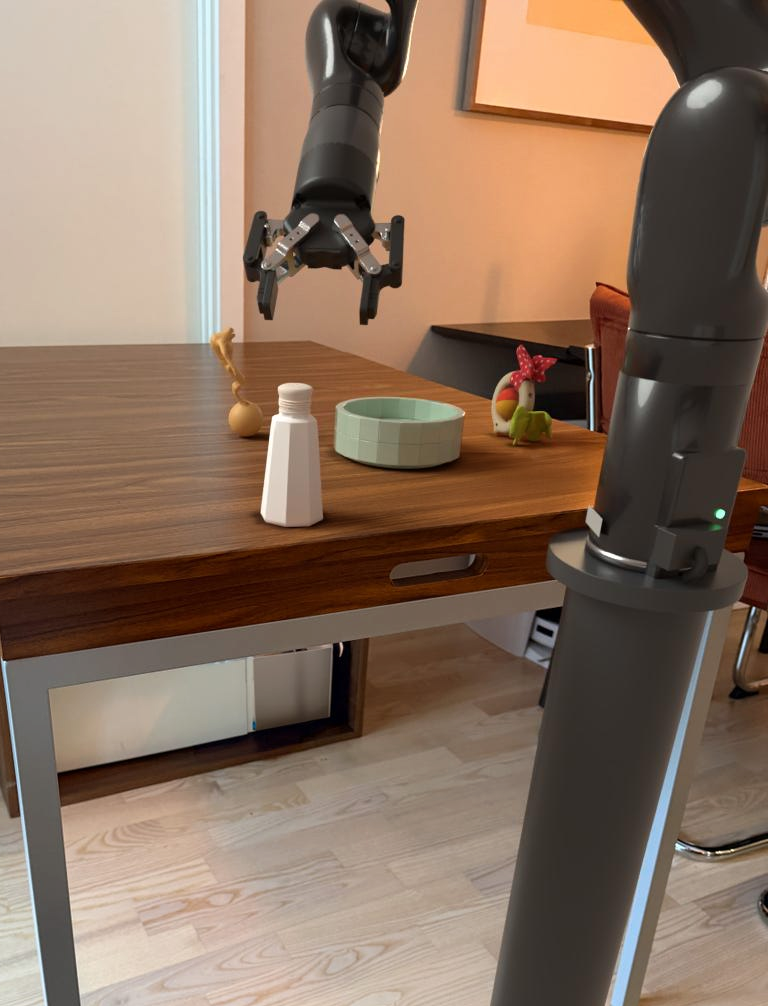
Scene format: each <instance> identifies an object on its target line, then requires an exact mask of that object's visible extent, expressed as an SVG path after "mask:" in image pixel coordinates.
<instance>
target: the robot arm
mask: <svg viewBox="0 0 768 1006" xmlns="http://www.w3.org/2000/svg"><path fill="white" fill-rule="evenodd" d="M384 1H385V2H386V4H387V5H388V7H389V12H384V11H383V10H380V9H378V8H375V7H373V6H370V5H369V4H366V3H364V2H361V1H359V0H320V1H319V2H318V4H316V6H315V8H314V9H313V11H312V12H311V14H310V16H309V19H308V22H307V25H306V30H305V38H304V61H305V68H306V74H307V79H308V83H309V89H310V96H311V107H310V108H311V109H310V113H309V119H308V125H307V130H306V133H305V136H304V139H303V141H302V144H301V149H300V156H299V161H298V166H297V172H296V176H295V177H296V178H295V183H294V189H293V194H292V199H291V205H290V209H289V213H288V214H286V216H285V217H284V219H272V218H268V214H267V212H266V211H264V210H258V211H256V212H255V213H254V215H253V218H252V222H251V224H250V225H251V226H250V230H249V233H248V236H247V240H246V244H245V248H244V252H243V255H242V263H243V267H244V271H245V272H244V273H245V278H246V280H247V282H249V283H255V282H258V288H257V294H256V302H257V308H258V312H259V314H261V315H263V320H264V321H273V320H274V316H275V311H276V304H277V299H278V294H279V285H280V284H281V283H282V282H284V280H286V279H287V278H288V277H290V278H292V277H294V276H295V275H296V274H298V273H299V272H300V271H301V270H302V269H303V268H304V267H306V266H307V269H310V270H311V269H315V270H317V269H322V268H327V269H330V270H338V271H339V270H340V271H341V270H343V268H344V267H347V269H348V270H349V271H350V272H351V273H352V275H353V276H354V278H355V279H356V280H358V281H359V280H360V281H361V283H362V286H361V287H362V288H361V294H360V302H359V311H358V313H359V314H358V315H359V316H358V317H359V319H358V320H359V325H360V326H368V325H369V320H375V318H376V317H377V316H378V308H379V302H380V301H379V300H380V293H381V292H382V290H383V289H384V288H387V287H389V288H391V289H399V288H400V287H401V286H402V285H403V271H404V270H403V269H404V252H405V251H404V248H405V247H404V246H405V223H406V222H405V217H404V216H403V215H400V214H396V215H394V216H392V217H391V219H390V222H375V220H374V219H373V216H374V215H373V214H374V207H375V199H376V192H377V186H378V183H379V182H378V181H379V179H380V163H381V137H382V130H383V122H384V115H385V98H387V97H389V96H390V95H392V94H393V93H394V92H395V91H396V90H397V89H398V88H399V87H400V86H401V84H402V81H403V80H404V78H405V76H406V74H407V70H408V67H409V66H408V65H409V61H410V55H411V49H412V42H413V34H414V27H415V22H416V16H417V11H418V7H419V2H420V0H384ZM621 2H622V3H623V5H625V7H626V8H627V9H628V10H629V12H630V13H631V15H633V17H634V18H635V20H636V21H637V22H638V23H639V24H640V25H641V27H642V28H643V29H644V31H646V33H647V34H648V36H649V37H650V38H651V39H652V40H653V42H654V43H655V45H656V46H657V47H658V49H659V50H660V52H661V53H662V55H663V56H664V58H665V59H666V61H667V64H668V65H669V66H670V69H671V71H672V73H673V76H674V77H675V80H676V83H677V85H678V87H679V88H678V89H676V91H674V92H673V94H672V95H671V97H669V99H668V100H667V101H666V103H665V104H664V106H663V107H662V109H661V110H660V112H659V114H658V116H657V118H656V119H655V122H654V124H653V126H652V129H651V132H650V134H649V137H648V139H647V142H646V146H645V149H644V153H643V157H642V160H641V161H642V162H641V166H640V172H639V176H638V183H637V190H636V196H635V202H634V209H633V216H632V226H631V233H630V240H629V248H628V255H627V263H626V273H625V274H626V275H625V281H626V290H627V294H628V299H629V305H630V307H629V308H630V309H629V318H628V324H627V329H626V335H625V340H624V341H625V342H624V346H623V351H622V356H621V361H620V367H619V371H618V376H617V382H616V386H615V387H616V388H615V393H614V398H613V404H612V409H611V413H610V419H609V423H608V425H609V426H608V429H607V435H606V439H605V445H604V449H603V450H604V451H603V456H602V460H601V466H600V471H599V477H598V481H597V485H596V486H597V487H596V492H595V496H594V503H593V507H592V506H591V505H590V504H588V507H587V512H586V517H585V524H587V526H590V529H589V533H588V534H587V539H586V544H585V549H586V551H587V552H588V553H589V554H590V555H591V556H592V557H594V558H595V559H597V560H599V561H601V562H603V563H606V564H608V565H611V566H614V567H617V568H620V569H624V570H628V571H633V572H637V573H642V574H645V575H648V576H650V577H652V578H654V579H662V578H669V577H676V576H682V578H683V580H684V581H685V582H688V583H690V582H692V581H694V580H696V579H698V578H700V577H701V576H703V575H704V574H705V572H711V571H716V570H717V567H718V564H719V563H720V559H721V555H722V552H723V549H725V543H726V540H727V536H728V534H729V533H728V532H729V525H730V521H731V517H732V513H733V509H734V506H735V503H736V498H737V494H738V491H739V487H740V483H741V479H742V476H743V471H744V469H745V468H744V467H745V464H746V460H747V456H748V453H747V450H746V449H744V448H742V447H739V446H738V443H739V440H740V435H741V432H742V428H743V424H744V420H745V416H746V413H747V409H748V406H749V401H750V398H751V397H750V396H751V394H752V390H753V385H754V381H755V378H756V373H757V370H758V366H759V363H760V359H761V354H762V350H763V347H764V342H765V338H764V337H766V336H767V332H768V289H767V288H766V287H764V285H763V284H762V282H761V279H760V277H759V274H758V266H757V260H758V259H757V258H758V251H759V245H760V239H761V235H762V234H761V233H762V229H763V228H767V227H768V0H621ZM278 237H283V238H282V239H281V240H280V241H279V242H278V243H277V246H276V248H275V250H273V252H271V253H270V254H269V255H268V256H267V257H266V254H267V250H268V248H272V247H273V245H274V243H275V242H276V240H277V238H278ZM375 240H378V241H379V242H380V243H381V247H382V248H383V249H384V250H385V251H386V252H388V263H385V264H380V262H379V261H378V260H377V259H376V257H374V255H373V253H372V252H371V248H370V246H371V245H372V244H373V243H374V242H375ZM265 257H266V258H265Z"/></svg>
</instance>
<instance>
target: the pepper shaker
mask: <svg viewBox="0 0 768 1006" xmlns="http://www.w3.org/2000/svg"><path fill="white" fill-rule="evenodd" d="M313 392H314V388H313V387H312V386H311V385H310V384H308V383H307V384H306V383H303V382H302V383H301V382H285V383H283V384H280V385H279V386H278V387H277V393H278V396H279V397H278V407H279V408H278V414H277V413H276V414H274V415H273V416H272V417H271V421H270V422H271V423H270V428H269V429H270V430H269V437H268V438H269V439H268V448H267V455H266V463H265V464H266V465H265V471H264V481H263V489H262V496H261V506H260V515H261V516H262V519H263V520H264V522H265V523H267V524H271V525H275V526H280V527H283V528H294V527H295V528H296V527H297V528H298V527H299V528H300V527H311V526H312V525H315V524H317V523H318V522H321V521H323V519H324V514H323V513H324V512H323V496H322V480H321V479H322V477H321V460H320V459H321V458H320V445H319V428H318V419H317V418H315V417H314V416H313V415H312V414H311V412H312V410H311V407H312V403H313V402H312V401H313V399H312V396H313Z"/></svg>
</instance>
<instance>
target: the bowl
mask: <svg viewBox="0 0 768 1006" xmlns="http://www.w3.org/2000/svg"><path fill="white" fill-rule="evenodd" d="M334 410H335V412H334V413H335V414H334V431H333V432H334V433H333V448H334V450H335V452H336V453H338V454H339V455H341V456H343V457H346V458H348V459H350V460H351V461H354V462H356V463H360V464H364V465H367V466H373V467H377V468H379V467H380V468H385V469H386V468H387V469H403V470H407V469H409V470H410V469H411V470H412V469H414V470H415V469H426V468H427V469H428V468H433V467H437V466H441V465H443V464H446V463H451V462H453V461H454V460H457V459H459V457H460V456H461V450H462V443H463V431H464V425H465V417H466V411H464V410H463V409H462V408H461V407H458V406H456V405H454V404H451V403H447V402H443V401H437V400H432V399H425V398H415V397H402V396H374V397H373V396H370V397H358V398H351V399H346V400H343V401H341V402H339V403H337V404H336V405H335V409H334Z"/></svg>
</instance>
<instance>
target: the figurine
mask: <svg viewBox="0 0 768 1006" xmlns="http://www.w3.org/2000/svg"><path fill="white" fill-rule="evenodd" d="M235 337H236V333H235V329H234V328H232V326H231V327H227V328H226V329H224V331H220V332H215V333H213V334H212V335H211V336H210V338H209V345H210V347H211V349H212V351H213V353H214V354H215V356H216V357H217V359H218V360H219V363H220V364H221V366H222V367H223V369H225V370H226V372H227V373H228V375H229V376H230V377H231V378H232V379H234V380H235V381H234V382H233V383H232V384H231V388H232V390H231V391H232V394H233V396H234V398H235V399H236V400H237V403H236V404H234V405H233V406H232V408H231V409H230V411H229V414H228V423H229V426H230V428H231V430H232V431H233V432H234V434H236V435H238V436H239V437H244V438H246V437H252V436H254V435H256V434H258V433H259V431H260V430H261V428H262V427H263V423H264V414H263V412H262V409H261V408H260V407H259V406H258V405H257V404H256V403H254V402H252V401H248V399H246V398H244V397H242V396H241V394H240V393H238V392H240V390H241V389H242V387H243V386H244V385H245V383H246V377H245V376H244V374H243V373H242V372H241V371H240V370H239V368H238V367H237V366H235V365H234V364H235V362H234V361H233V354H234V344H233V341H232V340H233V339H234V338H235Z"/></svg>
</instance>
